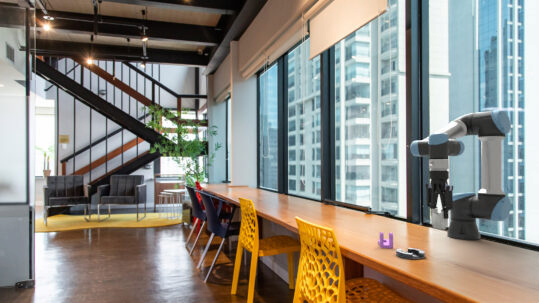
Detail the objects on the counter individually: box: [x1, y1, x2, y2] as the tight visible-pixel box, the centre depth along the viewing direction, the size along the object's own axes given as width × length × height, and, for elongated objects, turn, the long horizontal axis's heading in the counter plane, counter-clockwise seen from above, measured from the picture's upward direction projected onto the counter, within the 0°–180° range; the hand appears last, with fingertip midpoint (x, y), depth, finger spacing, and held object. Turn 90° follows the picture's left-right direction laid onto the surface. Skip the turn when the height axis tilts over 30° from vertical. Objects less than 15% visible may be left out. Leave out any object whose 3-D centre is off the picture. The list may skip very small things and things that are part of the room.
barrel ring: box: [395, 247, 426, 260], centre depth 148 cm, size 11×11×2 cm
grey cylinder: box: [432, 212, 447, 230], centre depth 148 cm, size 5×5×6 cm
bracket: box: [377, 231, 394, 249], centre depth 168 cm, size 13×6×7 cm, turn 168°
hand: (439, 225), depth 148 cm, fingers closed on grey cylinder, 5 cm apart
